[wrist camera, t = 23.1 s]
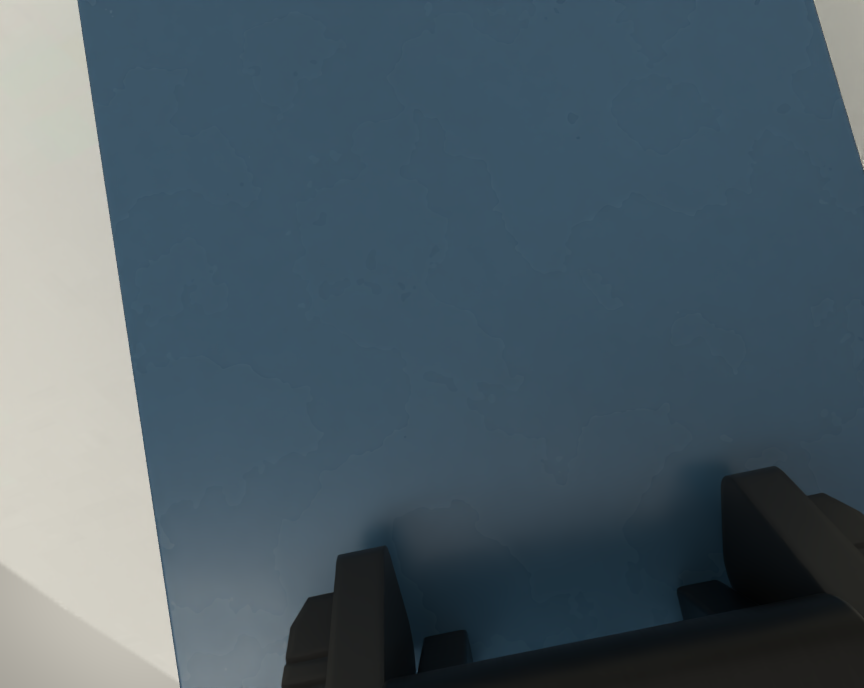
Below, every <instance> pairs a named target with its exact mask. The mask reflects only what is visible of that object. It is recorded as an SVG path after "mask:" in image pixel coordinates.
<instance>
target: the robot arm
mask: <svg viewBox="0 0 864 688" xmlns="http://www.w3.org/2000/svg"><path fill="white" fill-rule="evenodd" d="M721 512H722V538H723V558H724V564H725V568H726V572H727V575H728V578H729V581H730V584H731V586H732V588H733V589H734V590H736V591H738V592H739V593H741V594H742V595H744V596H746V597H747V598H749V599H751V600H752V601H754V602H756V603H757V604H759V605H764V604H769V603H774V602H779V601H784V600H789V599H794V598H799V597H804V596H809V595H814V594H820V593H826V594H831V595H835V596H838V597H840V598H841V599H843V600H845V601H846V602H848V603H849V604H850V605H851V606H852V607H854V608H855V609H856V610H857V611H858V612H859V613H860V614H861V615H862V617H863V618H864V515H863V514H862V513H861V512H860V511H858V510H856V509H854V508H852V507H850V506H848V505H846V504H845V503H843V502H841V501H839V500H837V499H835V498H833V497H831V496H829V495H827V494H825V493H818V494H813V495H808V496H806V495H805V494H804V492H803V491H802V490H801V489H800V488H799V487H798V486H797V485H796V484H795V483H794V482H793V481H792V480H791V479H790V478H789V477H788V476H787V475H786V474H785V473H784V472H783V471H782V470H781V469H780V468H778V467H776V466H771V467H766V468H761V469H757V470H752V471H747V472H742V473H737V474H732V475H727V476H724V477H723V479H722V481H721ZM285 660H286V665H284V670H283V677H282V683H281V688H383V685H384V683H385V682H387V681H388V680H389V679H392V678H397V677H402V676H407V675H412V674H416V663H415V653H414V646H413V639H412V634H411V629H410V624H409V620H408V616H407V613H406V609H405V606H404V602H403V599H402V595H401V592H400V588H399V585H398V581H397V578H396V574H395V570H394V567H393V563H392V560H391V556H390V553H389V550H388V548H387V546H386V545H384V546H379V547H374V548H370V549H365V550H360V551H355V552H350V553H345V554H341V555H338V557H337V561H336V571H335V582H334V592H332V593H327V594H322V595H317V596H312V597H308V599H307V600H306V602H305V604H304V605H303V607H302V609H301V610H300V612H299V614H298V615H297V617H296V619H295V620H294V622H293V624H292V625H291V627H290V632H289V639H288V645H287V651H286V658H285Z"/></svg>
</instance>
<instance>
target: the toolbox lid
mask: <svg viewBox="0 0 864 688" xmlns="http://www.w3.org/2000/svg"><path fill="white" fill-rule="evenodd" d="M78 7H79V14H80V20H81V27H82V34H83V40H84V47H85V54H86V61H87V67H88V74H89V81H90V87H91V94H92V101H93V107H94V114H95V121H96V127H97V134H98V141H99V148H100V154H101V161H102V168H103V174H104V181H105V188H106V194H107V201H108V208H109V214H110V221H111V228H112V234H113V241H114V248H115V255H116V261H117V268H118V275H119V281H120V288H121V295H122V301H123V308H124V315H125V321H126V328H127V335H128V342H129V348H130V355H131V362H132V368H133V375H134V382H135V388H136V395H137V402H138V408H139V415H140V422H141V428H142V435H143V442H144V449H145V455H146V462H147V469H148V475H149V482H150V489H151V495H152V502H153V509H154V515H155V522H156V529H157V536H158V542H159V549H160V556H161V562H162V569H163V576H164V582H165V589H166V596H167V602H168V609H169V616H170V622H171V629H172V636H173V643H174V649H175V656H176V663H177V669H178V676H179V683H180V688H281V683H282V677H283V670H284V665H286V660H285V658H286V651H287V645H288V639H289V632H290V627H291V625H292V624H293V622H294V620H295V619H296V617H297V615H298V614H299V612H300V610H301V609H302V607H303V605H304V604H305V602H306V600H307V599H308V597H312V596H317V595H322V594H327V593H332V592H334V582H335V571H336V561H337V557H338V555H341V554H345V553H350V552H355V551H360V550H365V549H370V548H374V547H379V546H384V545H386V546H387V548H388V550H389V553H390V556H391V560H392V563H393V567H394V570H395V574H396V578H397V581H398V585H399V588H400V592H401V595H402V599H403V602H404V606H405V609H406V613H407V616H408V620H409V624H410V629H411V634H412V639H413V646H414V653H415V663H416V674H412V675H407V676H402V677H397V678H392V679H389V680H388V681H387V682H385V683H384V685H383V688H864V618H863V617H862V615H861V614H860V613H859V612H858V611H857V610H856V609H855V608H854V607H852V606H851V605H850V604H849V603H848V602H846V601H845V600H843V599H841V598H840V597H838V596H835V595H831V594H826V593H820V594H814V595H809V596H804V597H799V598H794V599H789V600H784V601H779V602H774V603H769V604H764V605H759V604H757V603H756V602H754V601H752V600H751V599H749V598H747V597H746V596H744V595H742V594H741V593H739V592H738V591H736V590H734V589H733V588H732V586H731V584H730V581H729V578H728V575H727V572H726V568H725V564H724V558H723V538H722V512H721V481H722V479H723V477H724V476H727V475H732V474H737V473H742V472H747V471H752V470H757V469H761V468H766V467H771V466H776V467H778V468H780V469H781V470H782V471H783V472H784V473H785V474H786V475H787V476H788V477H789V478H790V479H791V480H792V481H793V482H794V483H795V484H796V485H797V486H798V487H799V488H800V489H801V490H802V491H803V492H804V494H805V495H806V496H808V495H813V494H818V493H825V494H827V495H829V496H831V497H833V498H835V499H837V500H839V501H841V502H843V503H845V504H846V505H848V506H850V507H852V508H854V509H856V510H858V511H860V512H861V513H862V514H863V515H864V170H863V167H862V163H861V160H860V156H859V153H858V150H857V146H856V143H855V140H854V136H853V133H852V129H851V126H850V123H849V119H848V116H847V112H846V109H845V106H844V102H843V99H842V96H841V92H840V89H839V85H838V82H837V79H836V75H835V72H834V68H833V65H832V62H831V58H830V55H829V52H828V48H827V45H826V41H825V38H824V35H823V31H822V28H821V24H820V21H819V18H818V14H817V11H816V7H815V4H814V1H813V0H78Z"/></svg>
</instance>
